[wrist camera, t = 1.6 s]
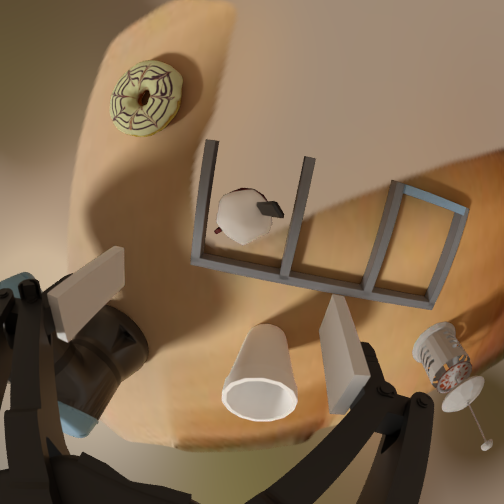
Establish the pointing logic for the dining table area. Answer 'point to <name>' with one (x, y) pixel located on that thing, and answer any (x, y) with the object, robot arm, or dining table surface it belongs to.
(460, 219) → the organizer
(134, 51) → the dining table surface
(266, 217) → the cocoa
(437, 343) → the french press
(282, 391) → the foam cup
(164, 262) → the dining table surface
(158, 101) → the decorated donut
